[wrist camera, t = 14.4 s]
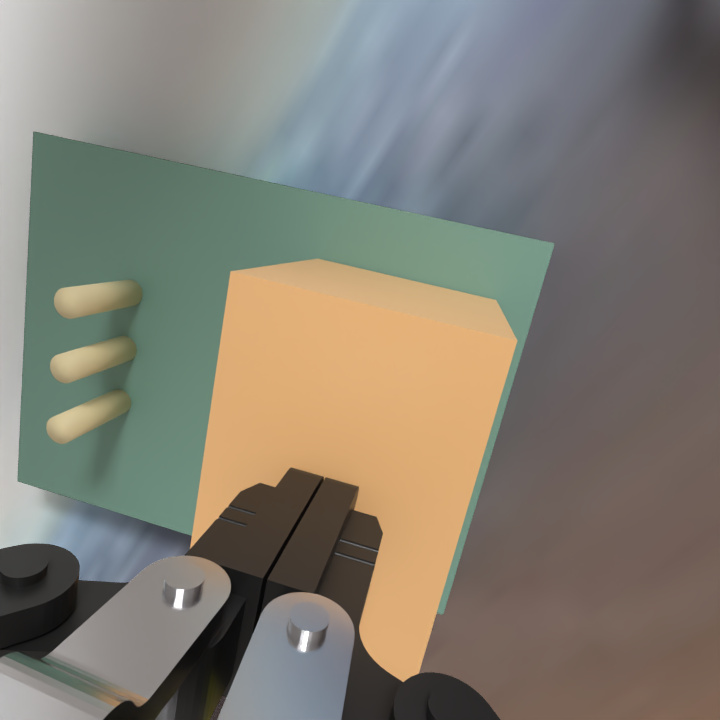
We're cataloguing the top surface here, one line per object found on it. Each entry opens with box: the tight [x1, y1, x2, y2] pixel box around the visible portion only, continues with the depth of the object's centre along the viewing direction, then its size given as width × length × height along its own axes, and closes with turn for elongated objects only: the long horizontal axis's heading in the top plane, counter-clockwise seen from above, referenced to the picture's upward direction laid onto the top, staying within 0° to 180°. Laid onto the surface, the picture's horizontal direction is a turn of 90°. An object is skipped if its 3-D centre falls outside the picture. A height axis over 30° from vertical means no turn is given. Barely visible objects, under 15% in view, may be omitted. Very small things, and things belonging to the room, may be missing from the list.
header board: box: [18, 132, 554, 615], centre depth 18 cm, size 17×13×5 cm
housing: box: [190, 259, 517, 682], centre depth 14 cm, size 6×9×6 cm, turn 168°
